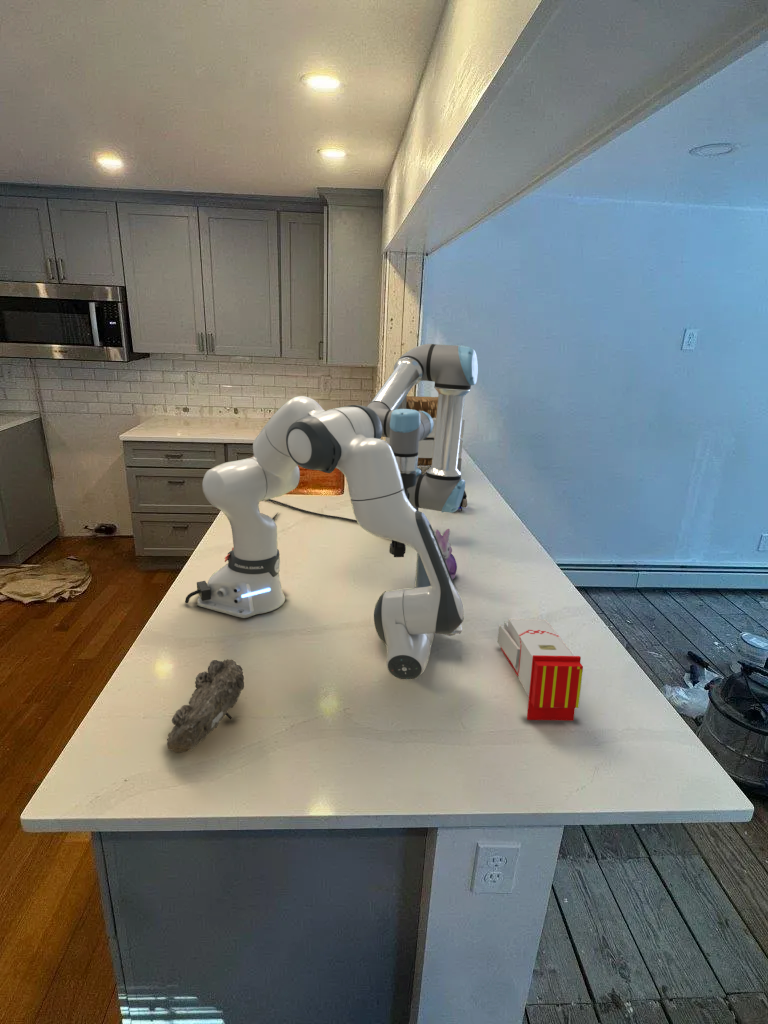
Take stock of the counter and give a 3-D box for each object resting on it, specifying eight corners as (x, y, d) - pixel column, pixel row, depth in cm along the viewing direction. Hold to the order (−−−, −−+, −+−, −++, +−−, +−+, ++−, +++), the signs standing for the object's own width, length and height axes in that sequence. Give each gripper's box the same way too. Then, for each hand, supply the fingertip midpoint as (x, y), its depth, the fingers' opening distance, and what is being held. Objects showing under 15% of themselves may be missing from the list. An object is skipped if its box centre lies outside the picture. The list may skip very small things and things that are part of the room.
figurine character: (467, 516, 223) (461, 500, 237) (469, 499, 220) (463, 483, 233) (450, 516, 223) (446, 499, 236) (452, 498, 220) (447, 483, 233)
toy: (543, 604, 136) (592, 662, 106) (538, 656, 138) (584, 727, 109) (493, 603, 135) (528, 661, 106) (489, 655, 138) (522, 726, 109)
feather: (285, 507, 224) (287, 503, 224) (267, 531, 198) (270, 526, 197) (281, 504, 224) (284, 500, 223) (263, 528, 197) (265, 524, 197)
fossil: (192, 660, 117) (244, 628, 112) (224, 691, 120) (276, 661, 115) (142, 746, 98) (202, 712, 93) (182, 779, 101) (242, 748, 96)
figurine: (438, 587, 162) (442, 538, 157) (419, 572, 171) (423, 526, 166) (465, 581, 166) (470, 534, 161) (446, 567, 175) (450, 522, 170)
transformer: (382, 463, 289) (386, 382, 275) (445, 464, 293) (451, 384, 279) (390, 482, 257) (394, 392, 243) (460, 483, 261) (468, 394, 247)
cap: (385, 552, 154) (386, 544, 154) (396, 548, 157) (397, 540, 157) (397, 557, 152) (398, 549, 151) (408, 552, 155) (409, 545, 154)
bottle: (419, 617, 146) (426, 527, 138) (433, 623, 144) (441, 532, 135) (408, 623, 143) (414, 532, 135) (423, 630, 140) (430, 537, 132)
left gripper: (462, 623, 127) (465, 594, 139) (372, 610, 130) (384, 584, 143) (459, 647, 129) (463, 617, 142) (371, 634, 132) (383, 606, 145)
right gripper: (384, 461, 154) (380, 540, 162) (392, 479, 138) (387, 566, 146) (411, 462, 155) (406, 540, 163) (422, 479, 139) (416, 566, 147)
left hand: (423, 600), depth 142 cm, fingers closed on bottle, 4 cm apart
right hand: (397, 552), depth 154 cm, fingers closed on cap, 4 cm apart
